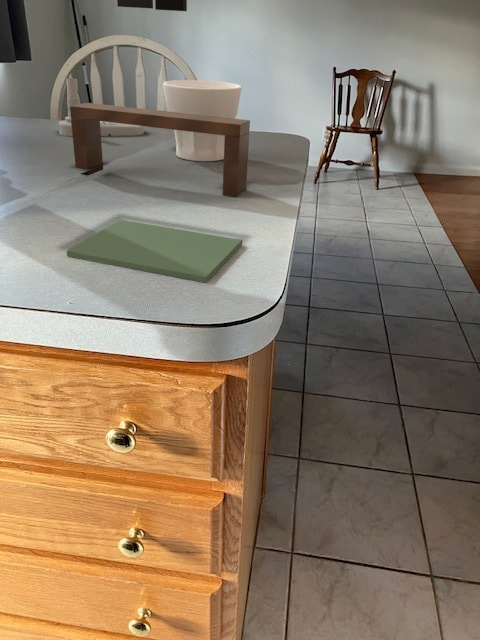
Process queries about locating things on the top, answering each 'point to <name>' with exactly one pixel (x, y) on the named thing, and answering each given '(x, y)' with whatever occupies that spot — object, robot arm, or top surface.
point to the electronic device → (105, 127)
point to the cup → (201, 101)
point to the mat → (158, 250)
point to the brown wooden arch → (234, 130)
